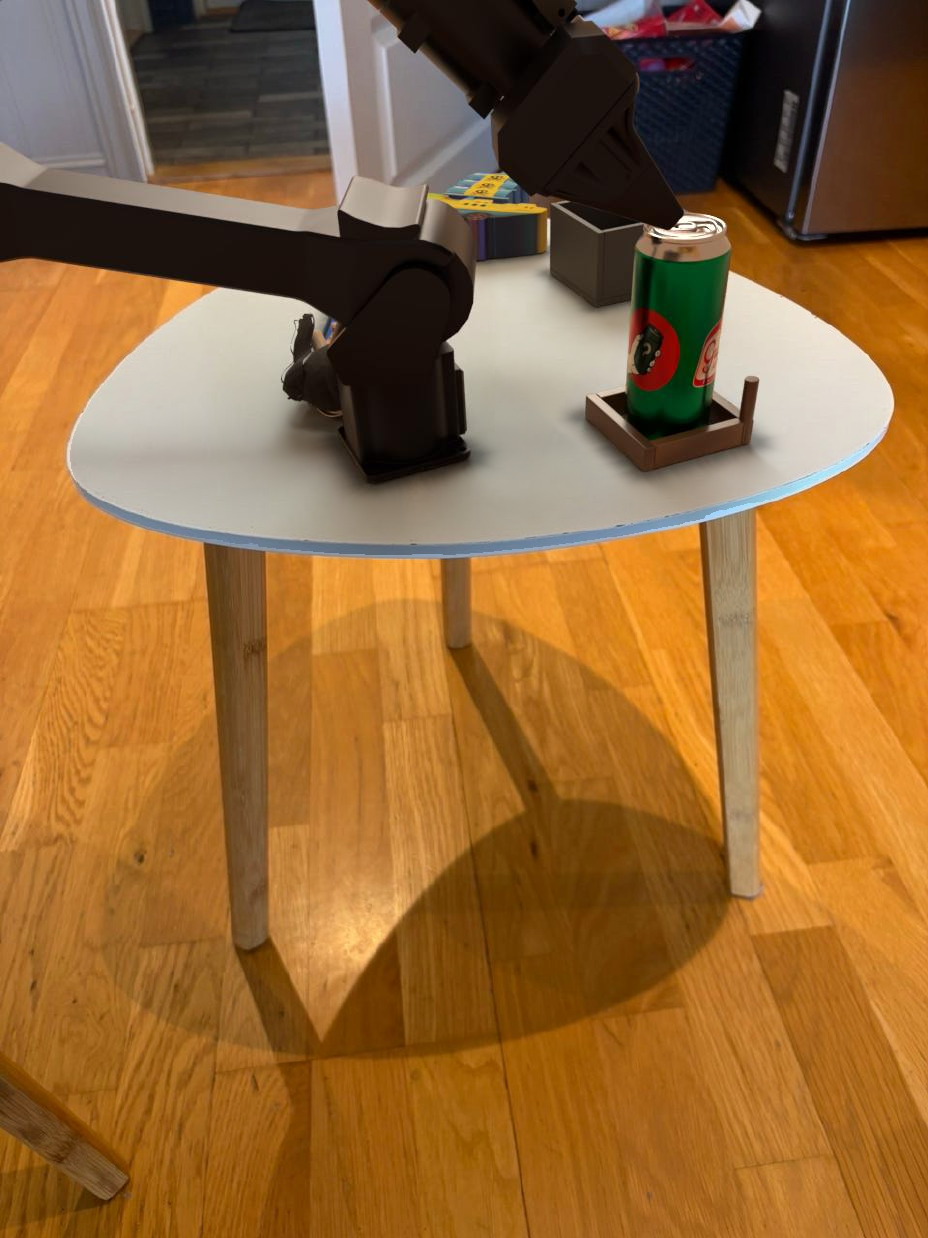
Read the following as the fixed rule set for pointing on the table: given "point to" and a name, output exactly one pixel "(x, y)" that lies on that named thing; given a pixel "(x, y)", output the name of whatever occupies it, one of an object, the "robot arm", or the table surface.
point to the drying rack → (664, 451)
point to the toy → (498, 215)
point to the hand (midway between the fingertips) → (655, 192)
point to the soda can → (676, 325)
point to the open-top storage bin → (593, 251)
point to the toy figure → (312, 370)
